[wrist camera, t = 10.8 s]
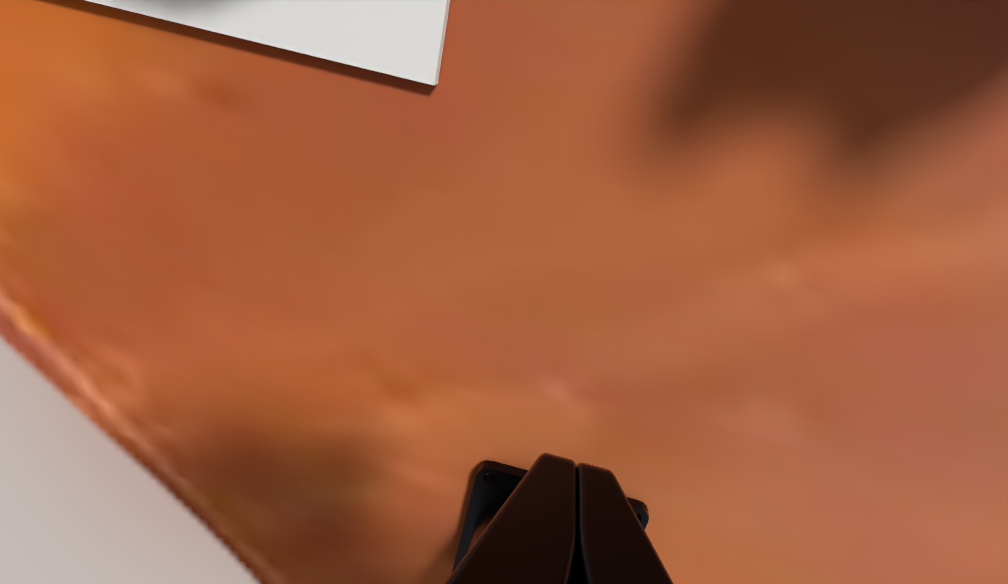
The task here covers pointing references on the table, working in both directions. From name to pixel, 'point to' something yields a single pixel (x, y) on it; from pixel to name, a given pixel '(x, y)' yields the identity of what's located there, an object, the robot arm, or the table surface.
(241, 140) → the table surface
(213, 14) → the mat
